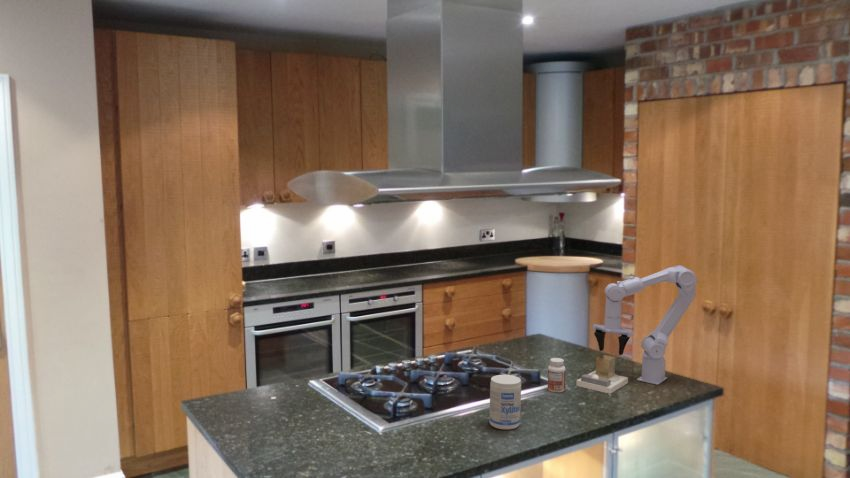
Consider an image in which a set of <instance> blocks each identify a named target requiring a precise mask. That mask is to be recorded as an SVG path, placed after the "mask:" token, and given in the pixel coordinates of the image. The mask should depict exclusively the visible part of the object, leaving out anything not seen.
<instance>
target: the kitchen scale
mask: <svg viewBox="0 0 850 478" xmlns="http://www.w3.org/2000/svg"><path fill="white" fill-rule="evenodd" d="M580 376H581V377H580V378H578V379H577V380H576V387H580V388H584V389H589V390H593V391H595V392H597V391H598V392H601V393H604V394H608V395H610V394H613V393H614V392H616V391H617V390H619V389H620V388H623V386H625V385H626V384H628V383H629V377H627V376H623V375H618V374H616V373H614V376H613V377H611V378H610V379H605V378H601V377H599V376H598V375H596V369H595V370H593V371H592V372H589V373H585V374H583V375H580Z"/></svg>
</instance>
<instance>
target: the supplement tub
mask: <svg viewBox="0 0 850 478" xmlns="http://www.w3.org/2000/svg"><path fill="white" fill-rule="evenodd" d="M489 385H490V389H489V419H488V420H489V421H488V422H489V424H490V426H492V427H493V428H496V429H499V430H505V431H506V430H514V429H516V428H518V427H519V426H520V424H521V408H522V407H521V405H522V403H521V402H522V401H521V400H522V379H521V378H520V377H518V376H516V375H512V374H498V375H497V374H496V375H493V376H492V377H491V378H490V384H489Z"/></svg>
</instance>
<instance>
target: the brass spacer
mask: <svg viewBox="0 0 850 478" xmlns="http://www.w3.org/2000/svg"><path fill="white" fill-rule="evenodd" d="M615 365H616V357H614V356H611V355H606V354H601V355H599V356H597V357H596V359H595V370H596V375H598V376H599V377H601V378H605V379H610V378H611V377H613V376H614V374H615V373H616V372H615V369H616V366H615Z"/></svg>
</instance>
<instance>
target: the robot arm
mask: <svg viewBox="0 0 850 478" xmlns="http://www.w3.org/2000/svg"><path fill="white" fill-rule="evenodd" d="M665 282H668V283H673V284H675V285H676V288H677V291H678V295H677V296H676V298H674V300H673V302H672V304H671V305H670V307H669V309H668V310H667V311H666V312H665V315H664V316H663V317H662V319H661V320H660V321H659V323H658V325H657V327H656V328H655V329H653V330H652V331H650V333H649V334H648V335H647V336H645V337H644V338H643V339H642V340H641V348H642V350H643V353H642V355H641V356H642V360H641V376H639V377H638V378H637V379H636V380H637V381H639V382H644V383H648V384H653V385H660V384H661V383H663V382H665V380H667V379H668V376H666V365H667V364H666V359H665V357H664V355H665V354H666V348H667V346H668V344H669V337H670V335H672V332H674V330H675V329H676V327H677V326H678V324H679V322H680V321H681V319H682V318H683V316H684V314H685V313H686V312H687V311H688V309H689V307H690V305H691V304H692V302H693V301H694V299H695V298H696V291H697V290H696V288H697V283H698V279H697V277H696V274H695V273H694V271H693V270H691V269H688V268H686V266H685V265H684V266H683V265H675V266H670V267H668V268H667V267H666V268H665V269H663V270H660V271H658V272H655V273H652V274H650V275H647V276H644V277H641V278H640V277H638V276H633V275H631V276H629V278H628V279H625V280H622V281H620V280H618V281H616V283H614V282H612V283H608V284H607V286H606V287H605V288H604V294H605V296H606V297H605V305H604V306H605V307H604V308H605V309H604V324H597V323H595V324H593V325H592V331H594V332H593V335H594V336H595V338H596V341H597V345H598V349H599V352H603V351H604V348H605V338H606V333H609V334H614V335H619V336H618V338H617V339H618V356H622V355H623V354H624V350H625V348H626V345H628V344H627V343H628V342H629V340H630V338H631V337H632V336H633V330H629V329H625V328H622V327H621V326H622V325H621V323H622V300H623V299H624V297H626V298H627V297H629V296H632V295H635V294H638V293H640V292H642V291H643V290H644V288H646V287H650V286H653V285H656V284H660V283H665Z"/></svg>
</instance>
